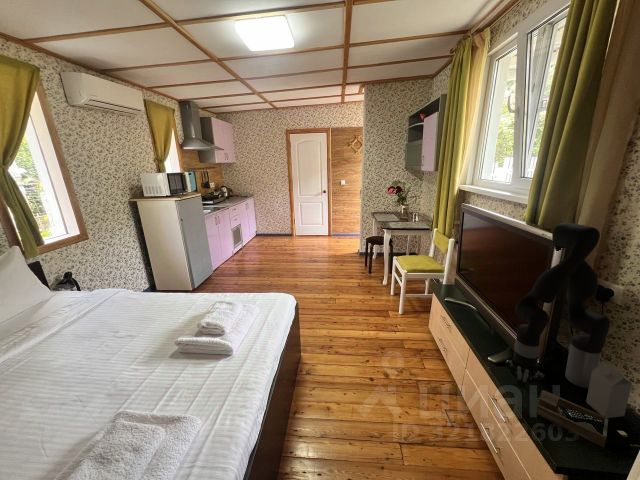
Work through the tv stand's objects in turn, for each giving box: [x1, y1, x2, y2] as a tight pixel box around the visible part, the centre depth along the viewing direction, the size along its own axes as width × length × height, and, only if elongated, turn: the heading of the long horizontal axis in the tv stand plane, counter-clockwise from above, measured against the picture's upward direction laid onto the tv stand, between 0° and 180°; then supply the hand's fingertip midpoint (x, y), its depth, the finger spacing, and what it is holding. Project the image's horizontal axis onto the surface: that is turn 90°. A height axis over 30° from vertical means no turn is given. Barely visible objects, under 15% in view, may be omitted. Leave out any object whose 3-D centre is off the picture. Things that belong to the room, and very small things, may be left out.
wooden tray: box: [535, 389, 609, 448], centre depth 97 cm, size 10×18×4 cm, turn 41°
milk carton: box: [585, 361, 633, 419], centre depth 97 cm, size 7×7×19 cm
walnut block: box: [537, 390, 559, 413], centre depth 101 cm, size 5×5×4 cm
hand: (521, 386), depth 107 cm, fingers closed
